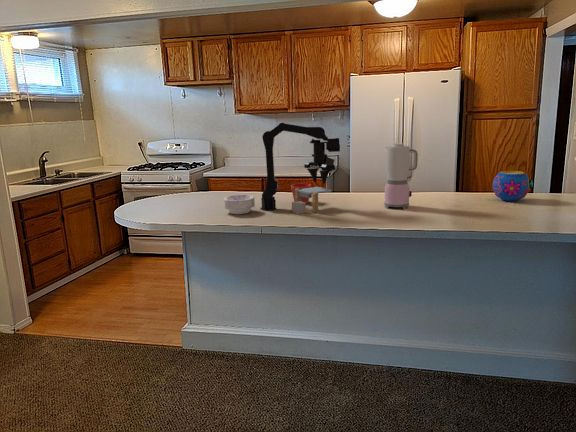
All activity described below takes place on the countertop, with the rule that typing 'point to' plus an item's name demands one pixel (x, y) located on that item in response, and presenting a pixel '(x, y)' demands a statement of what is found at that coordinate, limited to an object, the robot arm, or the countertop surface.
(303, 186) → the flower pot
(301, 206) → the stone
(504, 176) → the ceramic pot
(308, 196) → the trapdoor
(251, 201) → the paper bowls
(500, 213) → the countertop surface
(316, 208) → the frame
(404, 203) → the blender
